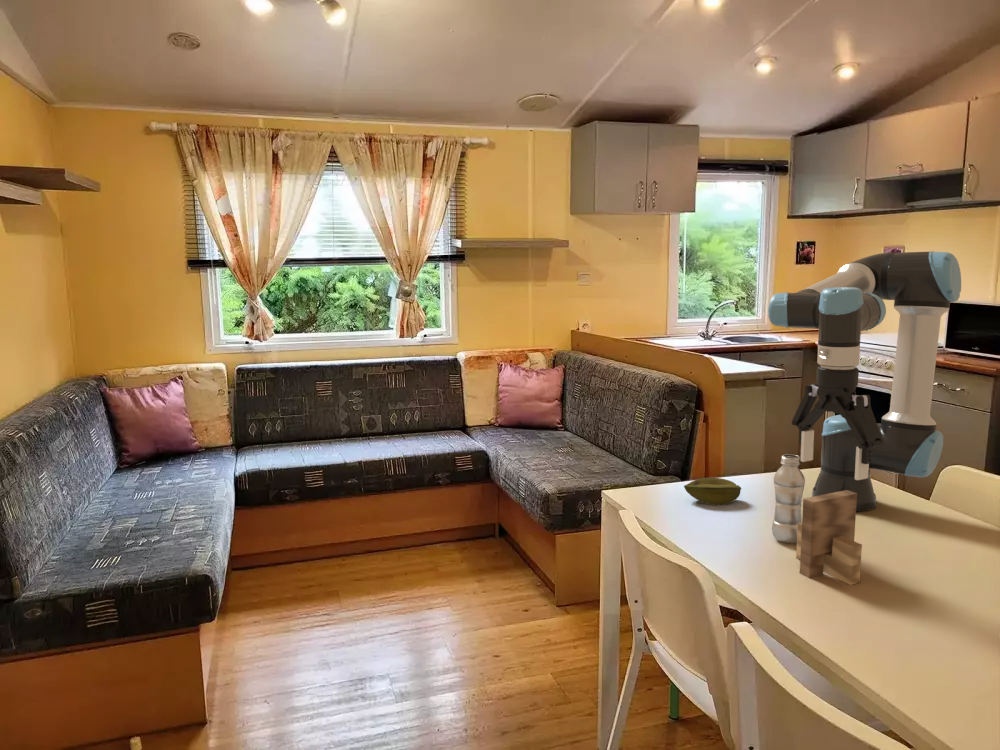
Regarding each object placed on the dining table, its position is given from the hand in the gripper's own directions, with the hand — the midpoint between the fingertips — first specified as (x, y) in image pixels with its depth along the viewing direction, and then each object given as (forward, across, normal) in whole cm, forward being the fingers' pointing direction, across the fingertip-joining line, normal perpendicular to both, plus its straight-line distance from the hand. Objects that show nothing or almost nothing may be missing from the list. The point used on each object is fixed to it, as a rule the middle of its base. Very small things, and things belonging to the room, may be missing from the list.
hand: (832, 469), depth 143 cm
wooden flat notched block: (+22, 0, -1) cm, 22 cm away
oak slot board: (+22, 0, -1) cm, 22 cm away
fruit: (+22, -43, +6) cm, 49 cm away
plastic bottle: (+22, -15, +3) cm, 27 cm away
